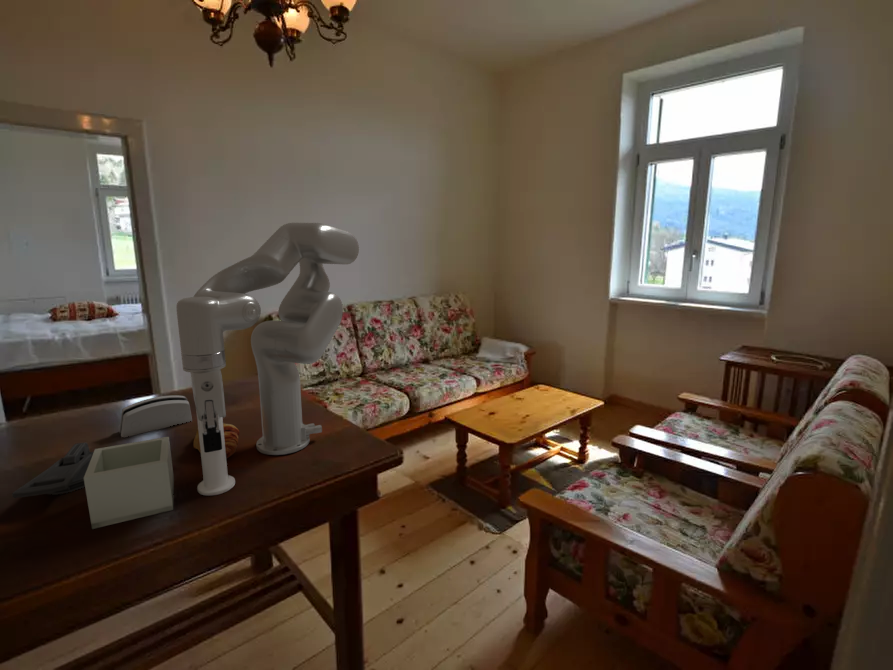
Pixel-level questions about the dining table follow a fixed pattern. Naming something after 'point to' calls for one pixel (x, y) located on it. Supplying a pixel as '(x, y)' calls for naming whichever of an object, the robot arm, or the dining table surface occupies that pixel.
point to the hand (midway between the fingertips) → (212, 445)
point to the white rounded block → (154, 414)
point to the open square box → (129, 481)
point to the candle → (214, 465)
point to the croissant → (229, 436)
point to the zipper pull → (60, 474)
